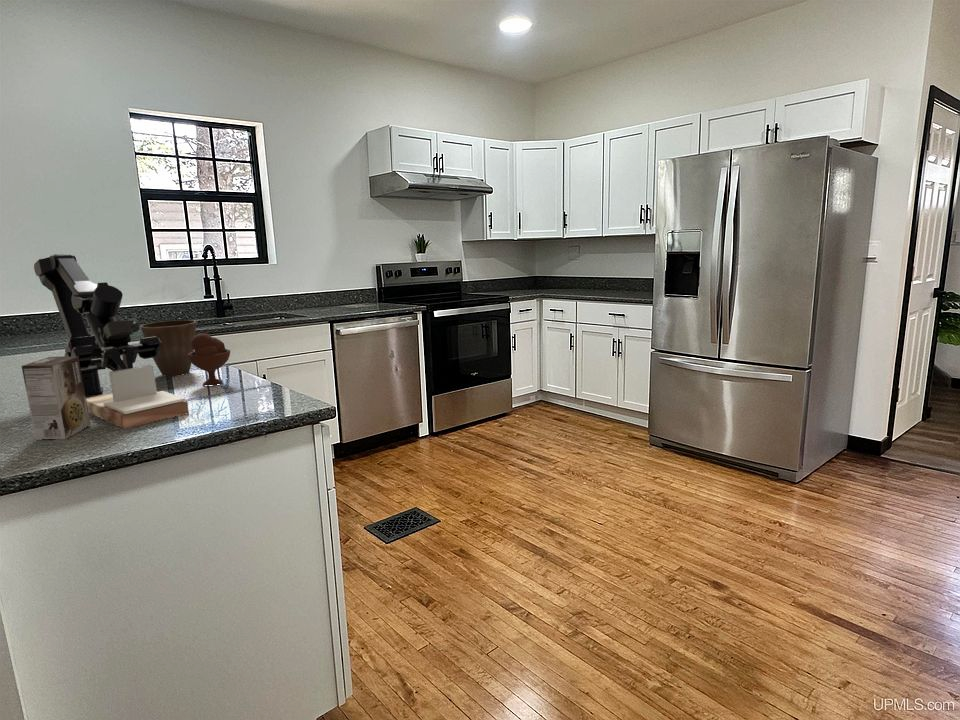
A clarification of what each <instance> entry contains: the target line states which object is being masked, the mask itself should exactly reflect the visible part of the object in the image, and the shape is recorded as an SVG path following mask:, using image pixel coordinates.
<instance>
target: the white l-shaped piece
mask: <svg viewBox="0 0 960 720" xmlns="http://www.w3.org/2000/svg"><path fill="white" fill-rule="evenodd" d="M108 374H109V381H110V388H111V393H112V394H113V401H111V402H106V403H104V406H106V407H109V408H111V409H114V410H116V411H118V412H121V413H123V414H129V413H133V412H137V411H142V410H146V409H151V408H155V407H160V406H164V405H168V404H173V403H177V402H182V401H186V398H185V397H182V396H179V395H176V394H173V393H170V392H167V391H164V390H160V391H158V389H157V383H156V377H155V376H156V375H155V369H154V365H151V364H149V365H142V366H137V367H133V368H130V369H124V370H118V371H112V370H111V371H108ZM157 391H158V392H157Z"/></svg>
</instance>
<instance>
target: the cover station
mask: <svg viewBox="0 0 960 720" xmlns="http://www.w3.org/2000/svg"><path fill="white" fill-rule="evenodd" d="M157 392H159V391H158V390H157ZM111 401H113V394H112V392H110V393H107V394H101V395H97V396H92V397H91V396H90V397H86V402H87V407H88V412H90V413H89V414H91V413H92V414H91V415H93V414H94V415H93V416H95V415H96V416H95V417H97V416H99V417H101V418H103V419H102V420H104V419H105V420H104V421H106V420H107V421H106V422H108V421H109V422H108V423H110V422H112V423H113V424H112V423H111V424H112V425H114V424H116V425H118V426H117V427H119V426H120V427H119V428H121V427H122V428H121V429H123V428H124V429H123V430H126V429H125V428H127V429H130V428H129V427H131V428H134V427H133V426H135V427H138V425H139V426H143V425H146V424H151V422H152V423H155V422H154V421H156V422H159V421H158V420H160V421H162V420H161V419H164V420H166V419H165V418H168V419H171V418H170V417H172V418H175V416H176V417H180V416H183V414H184V415H187V414H186V413H188V414H190V411H189V404H188V401H187V400H185V401H182V402H177V403H173V404H168V405H164V406H160V407H155V408H151V409H146V410H142V411H137V412H133V413H129V414H123V413H121V412H118V411H116V410H114V409H111V408H109V407H106V406H104V403H106V402H111ZM179 415H180V416H179ZM99 417H98V418H99ZM101 418H100V419H101ZM142 424H143V425H142ZM116 425H115V426H116Z"/></svg>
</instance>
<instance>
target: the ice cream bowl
mask: <svg viewBox="0 0 960 720" xmlns="http://www.w3.org/2000/svg"><path fill="white" fill-rule="evenodd" d="M191 347H192V348H193V349H194V351H193V352H191V353H189V354H187V355H188V358H189V360H190V362H191V365H193V366H194V367H195V368H198V369H199V370H201V371H206V372H207V374H208V379H207V380H205V381H204V382H202V384H201V385H217V384H221V383H222V382H223V380H220V379H218V378H217V377H216V370H218V369H220V368H222V367H223V366H224V365H225V364H226V363H227V362H228V361H229V358H230V356H231V349H227V348H226V347H225V343H224V342H223V341H222V340H220V339H219V338H217V337H212V336H211V334H208V333H198V334H195V336H194V337H193V339H192V340H191ZM223 383H224V382H223Z"/></svg>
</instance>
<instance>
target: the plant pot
mask: <svg viewBox="0 0 960 720" xmlns="http://www.w3.org/2000/svg"><path fill="white" fill-rule="evenodd" d="M196 326H197V322H196V320H194V319H193V320H191V319H188V320H187V319H179V320H162V321H156V322H148V323H145V324H141V325H140V328H141V332H142V335H143V338H146V337H154V336H156V337H158V338H159V339H160V341H161V342H162V345H161V348H160V350H159V353H158V356H156V357H154V358H152V360H153V361H154V363H155V365H156V366H157V369H158V370H159V372H160V373H161V375H162V376H163V377H168V376H170V377H177V376H176V375H180V376H183V375H182V374H184V375H187V374H189V373H190V371H191V367H192V363H191V362H190V360H189V358H188V355H187V354H189V353H191V352H193V351H195V350H194V349H193V348H192V347H191V340H192V339H193V337H194V336H195V335H197V334H196V329H197V328H196ZM188 372H189V373H188ZM186 373H187V374H186Z"/></svg>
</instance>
